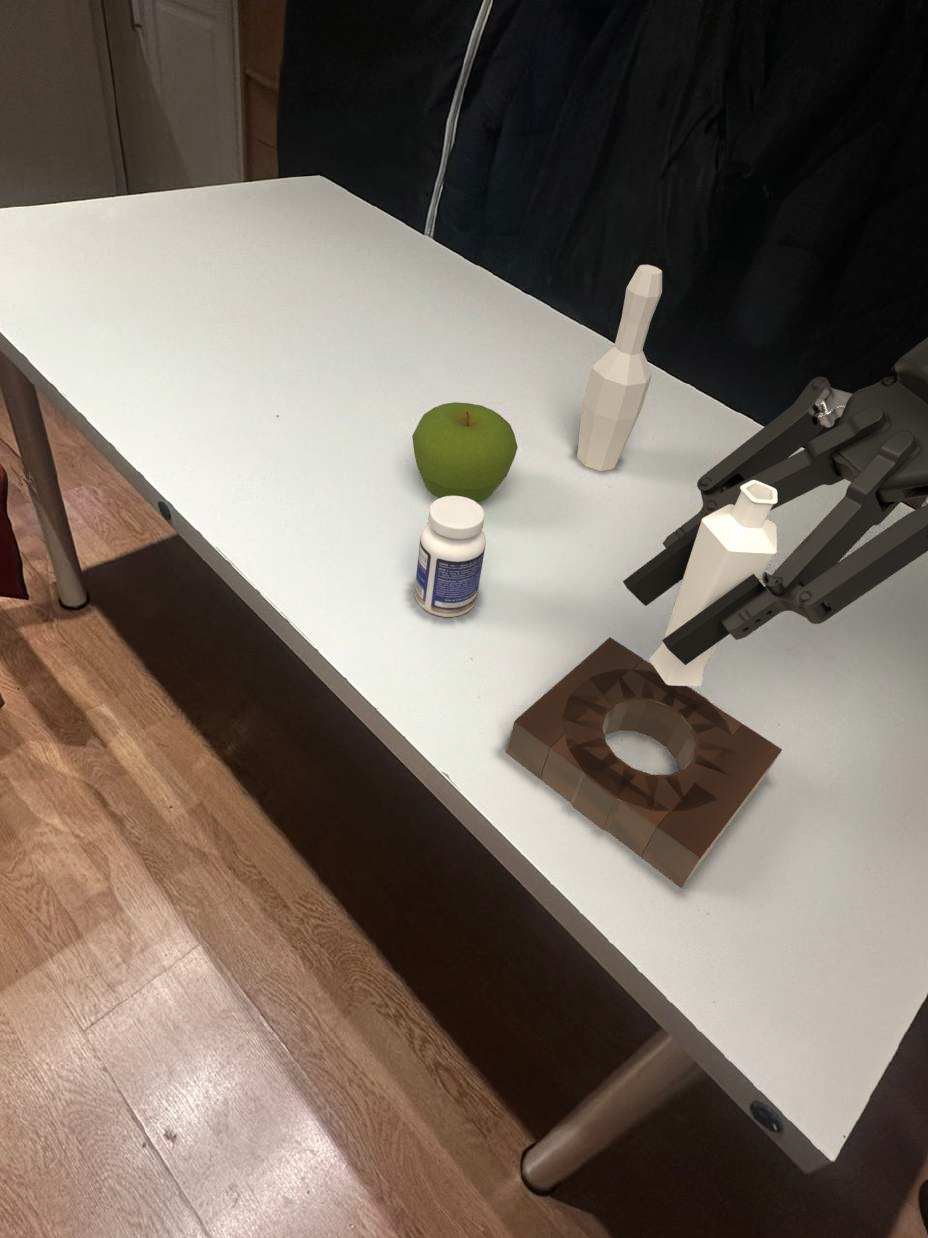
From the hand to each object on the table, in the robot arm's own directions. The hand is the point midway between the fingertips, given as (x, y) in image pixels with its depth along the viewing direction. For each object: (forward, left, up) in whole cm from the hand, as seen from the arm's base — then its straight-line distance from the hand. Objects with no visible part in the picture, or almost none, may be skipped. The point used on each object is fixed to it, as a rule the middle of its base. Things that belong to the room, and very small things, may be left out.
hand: (654, 622), depth 52 cm
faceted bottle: (+25, -37, -17) cm, 48 cm away
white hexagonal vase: (-2, -3, -5) cm, 7 cm away
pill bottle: (+21, -6, -17) cm, 28 cm away
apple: (+31, -19, -17) cm, 40 cm away
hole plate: (-2, -3, -17) cm, 17 cm away
